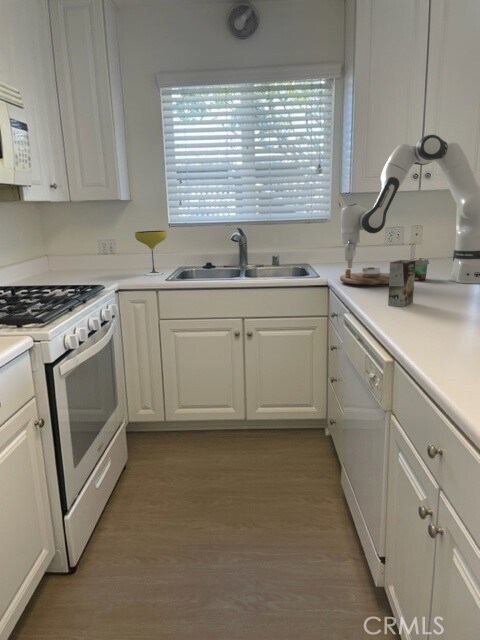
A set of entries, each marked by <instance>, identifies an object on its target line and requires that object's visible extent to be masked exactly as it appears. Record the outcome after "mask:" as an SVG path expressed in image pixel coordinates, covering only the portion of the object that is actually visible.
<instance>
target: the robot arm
mask: <svg viewBox="0 0 480 640" xmlns="http://www.w3.org/2000/svg"><path fill="white" fill-rule="evenodd" d="M432 162H436V163H437V164H438V165H439V167H440V169H441V171H442V175H443V177H444V179H445V182H446V184H447V185H446V186H447V187H448V190H449V192H450V194H451V195H452V198H453V200H454V203H455V204H456V216H455V217H456V222H455V229H456V231H455V243H454V250H453V254H452V255H453V256H452V261H453V264H452V269H451V273H450V276H449V278H448V280H449V281H452V282H456V283H460V284H480V186H479V183H478V182H477V180H476V178H475V175H474V173H473V171H472V167H471V165H470V163H469V160H468V157H467V156H466V154H465V152H464V150H463V149H462V147H461V146H460V145H459V143H457V142H448V143H447V142H446V141H445V140H443V138H441V137H440V136H438V135H436V134H428V135H425V136H424V137H421V139H420V140H418V142H417V143H416V144H415V145H409V144H406V143H401V144H399V145H397V146H396V147H395V149H394V150H393V151H392V153H390V155H389V158H388V159H387V160H386V163H385V164H384V166H383V168H382V171H381V173H380V177H379V180H380V183H381V190H380V192H379V194H378V197H377V199H376V201H375V203H374V205H373V207H372V208H371V209H367V208H365V207H363V206H361V205H359V204H358V203H351V204H348V205H345V206H343V207H342V208H341V210H340V211H341V212H340V226H341V228H340V229H341V230H340V244H343V245H342V247H343V248H344V260H345V262H347V269H352V268H353V260H354V258H355V256H356V251H357V246H358V244H359V243H360V238H361V237H360V234H361V233H360V232H361V231H365V232H367V233H369V234H377V233H379V232H381V230H383V229H384V227H385V224H386V219H387V213H388V210H389V208H390V206H391V204H392V202H393V200H394V198H395V196H396V194H397V192H398V190H399V189H400V187H401V185H402V184H403V183H404V180H406V178H407V175H408V174H409V172H410V170H411V168H412V167H413V165H420V166H426V165H428V164H431V163H432Z"/></svg>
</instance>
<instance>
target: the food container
mask: <svg viewBox="0 0 480 640" xmlns="http://www.w3.org/2000/svg"><path fill="white" fill-rule="evenodd" d="M414 261H415V277H414V282H425V281H426V278H427V271H428V265H429V264H430V260H429V258H424V257H419V258H418V259H416V260H414Z"/></svg>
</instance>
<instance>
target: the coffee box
mask: <svg viewBox="0 0 480 640" xmlns="http://www.w3.org/2000/svg"><path fill="white" fill-rule="evenodd" d="M415 261H416V260H408V259H407V260H406V259H405V260H404V259H399V260H394V261H391V262H389V273H390V275H389V284H388V299H387V305H388V306H394V307H402V308H403V307H407V306H409V305H411V304H413V302H414V293H415V290H414V289H415V281H414V277H415Z"/></svg>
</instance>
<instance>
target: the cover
mask: <svg viewBox="0 0 480 640" xmlns="http://www.w3.org/2000/svg"><path fill="white" fill-rule="evenodd" d="M361 273H362V277H363V278H379V277H380V273H381V268H380V267H363V268H362V270H361Z"/></svg>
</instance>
